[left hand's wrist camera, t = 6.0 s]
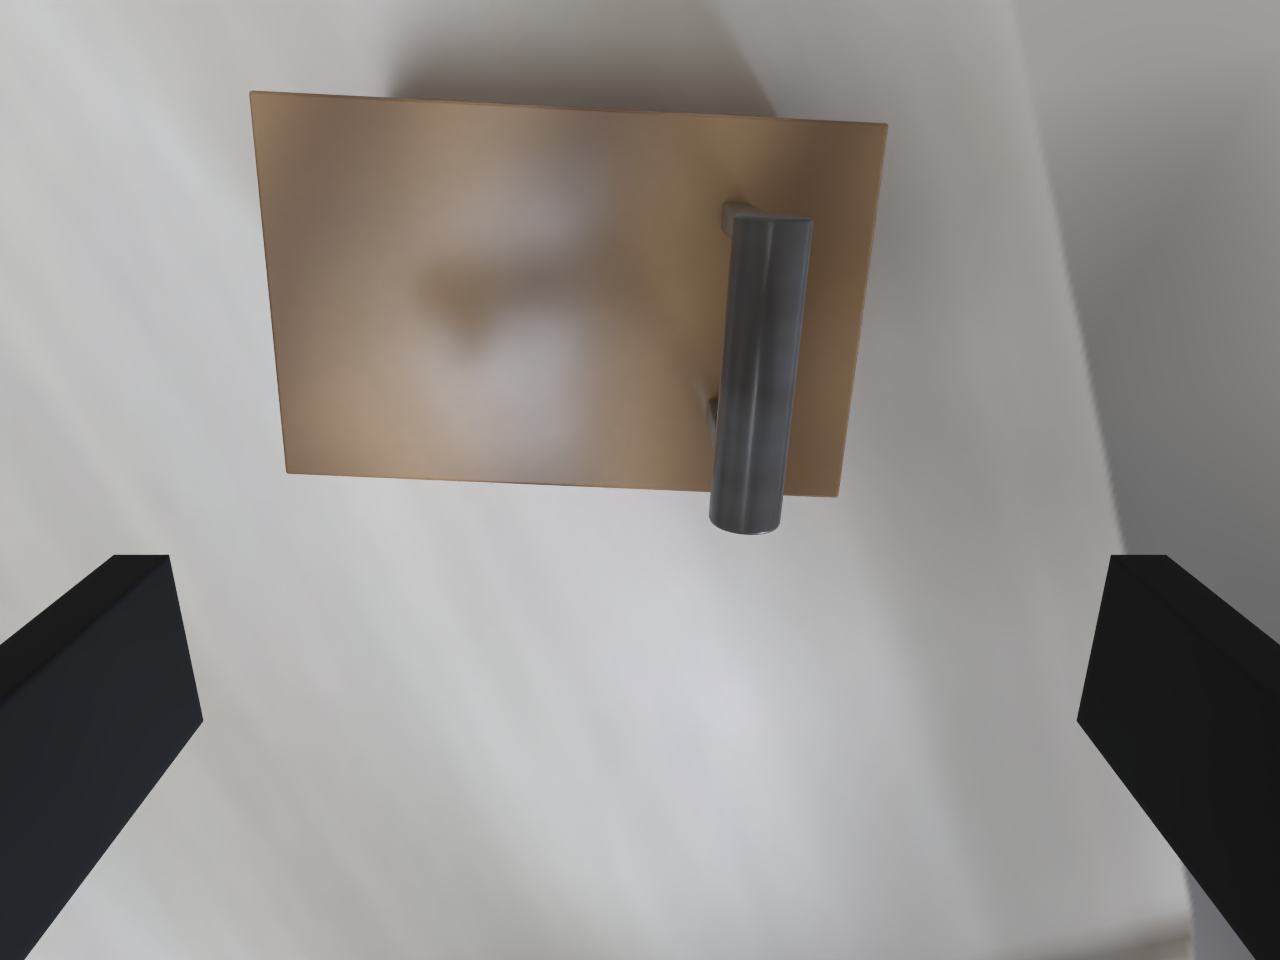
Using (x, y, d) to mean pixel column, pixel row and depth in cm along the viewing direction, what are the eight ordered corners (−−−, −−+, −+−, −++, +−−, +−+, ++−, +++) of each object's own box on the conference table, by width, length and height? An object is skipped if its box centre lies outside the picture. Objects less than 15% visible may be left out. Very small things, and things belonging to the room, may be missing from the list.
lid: (877, 124, 22) (998, 115, 15) (830, 483, 26) (909, 624, 18) (266, 93, 22) (74, 67, 15) (300, 460, 25) (158, 593, 18)
